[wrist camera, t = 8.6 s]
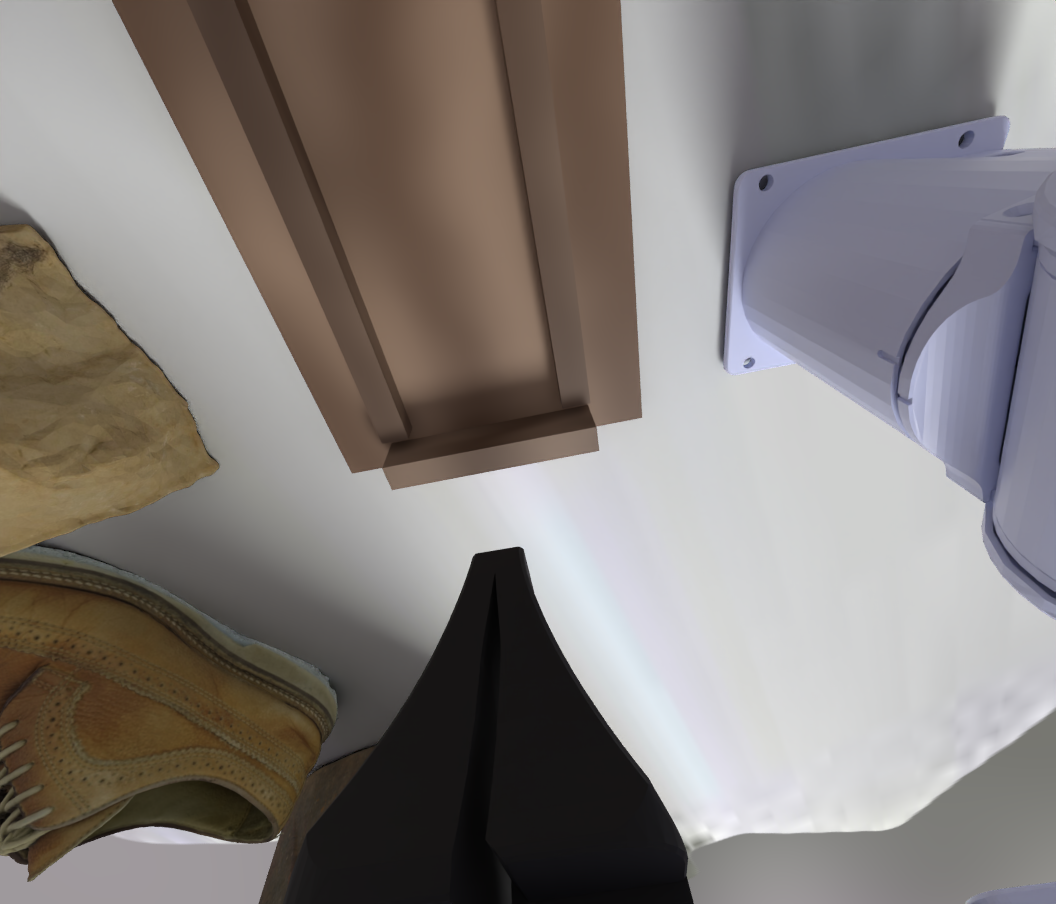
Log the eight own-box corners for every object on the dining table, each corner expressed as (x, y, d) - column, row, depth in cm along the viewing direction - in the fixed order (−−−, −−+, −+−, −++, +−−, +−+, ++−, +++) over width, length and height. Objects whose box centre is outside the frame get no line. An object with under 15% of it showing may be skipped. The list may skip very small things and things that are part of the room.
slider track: (553, -990, 7) (583, -1612, 5) (636, 407, 21) (654, 440, 19) (-219, -714, 8) (-554, -1123, 5) (357, 461, 22) (339, 499, 20)
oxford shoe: (382, 670, 32) (334, 881, 23) (310, 724, 36) (244, 925, 27) (-131, 460, 21) (-661, 716, 11) (-159, 573, 24) (-573, 836, 15)
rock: (-236, 153, 13) (-161, 453, 16) (-396, 216, 8) (-238, 624, 11) (217, 261, 21) (199, 446, 24) (277, 325, 16) (243, 544, 19)
